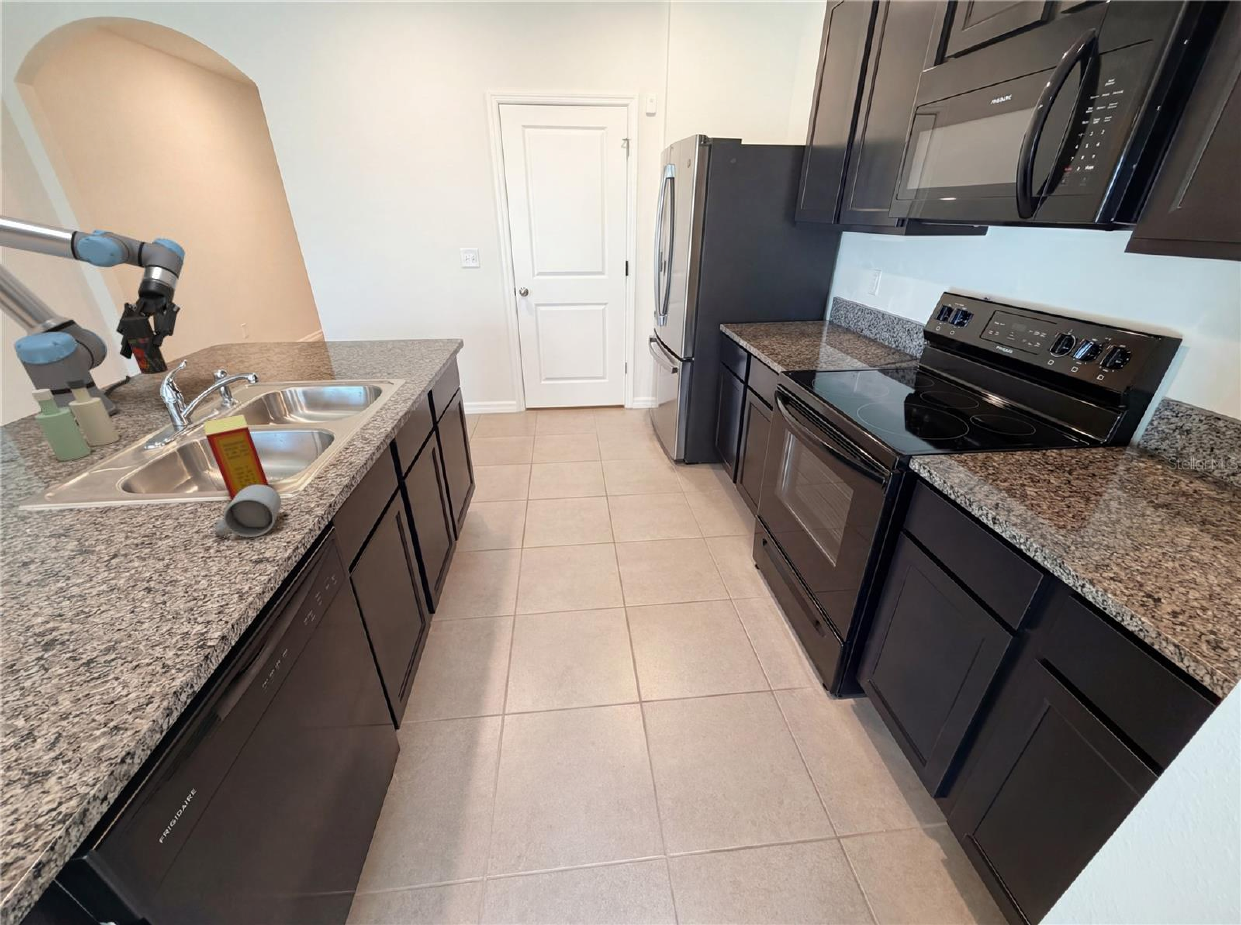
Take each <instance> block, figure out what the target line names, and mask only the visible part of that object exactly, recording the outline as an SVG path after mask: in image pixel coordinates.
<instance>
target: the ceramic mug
mask: <svg viewBox="0 0 1241 925" xmlns="http://www.w3.org/2000/svg"><path fill="white" fill-rule="evenodd" d="M281 506H282V500H281V496H280V494H279V492H277V491H276V489H274V488H272V487H271V486H270V485H269V486H266V485H251V486H248V487H246V488H244V489H243V490H241V491H240V492H239V493H238V494H237V495H236V496H235V498H234V499H233V500H231V502H229V503H228V505H227V506H226V508H225V509H224V512H223V516H222V520H220V521H219V522H218V523H217V524H216V525H215V526H214V528H213V531H214V533H215V534H216V535H218V536H219V537H224V536H227V535H228V534H229V535H230V534H231V533H233V535H236V536H240V537H243V538H255V537H260V536H263V535H265V534H266V533H268V532H269V531H270V530H271V529H273V527H274V525H275V523H276V520H277V517H278V515H279V512H280V510H281Z"/></svg>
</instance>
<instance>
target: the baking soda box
mask: <svg viewBox="0 0 1241 925" xmlns="http://www.w3.org/2000/svg"><path fill="white" fill-rule="evenodd" d="M203 426H204V432H205V437H206V440H207V442H208V444H209V447H210V450H211V452H212V454H213V458H214V460H215V462H216V464H217V467H218V470H219V472H220V475H221V477H222V479H223V482H224V485H225V487H226V489H227V492H228V494H229V497H230V499H231V501H232V500H233V499H234V498H235V496H236V495H237V494H238V493H239V492H240V491H241V490H243V489H244V488H246V487H248V486H251V485H266V486H269V487H270V484H269V482H268V479H267V476H266V473H265V471H264V468H263V465H262V462H261V460H260V457H259V453H258V452H257V448H256V446H255V443H254V440H253V437H252V434H251V431H250V429H249V426H248V423H247V421H246V417H245V415H244V413H240V414H236V415H235V414H234V415H231V416H230V415H229V416H225V417H220V418H215V419H210V420H204V421H203Z"/></svg>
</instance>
